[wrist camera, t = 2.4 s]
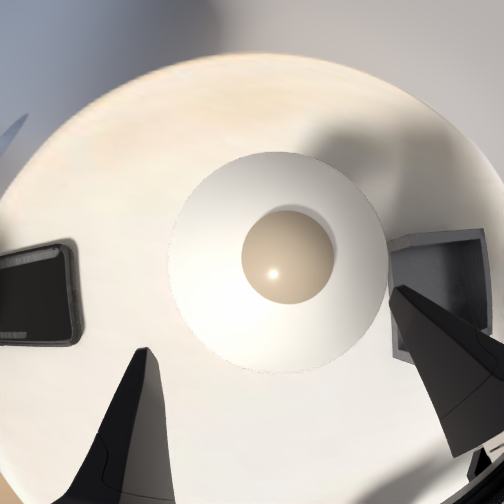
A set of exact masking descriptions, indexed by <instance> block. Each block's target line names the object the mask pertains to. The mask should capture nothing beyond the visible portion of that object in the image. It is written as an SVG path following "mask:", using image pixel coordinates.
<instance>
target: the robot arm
mask: <svg viewBox="0 0 504 504" xmlns="http://www.w3.org/2000/svg"><path fill="white" fill-rule="evenodd" d="M389 307H390V310H391V312H392V314H393V317H394V319H395V322H396V324H397V327H398V330H399V332H400V335H401V337H402V339H403V341H404V344H405V346H406V348H407V350H408V352H409V354H410V356H411V358H412V360H413V362H414V364H415V366H416V368H417V370H418V372H419V374H420V377H421V379H422V381H423V383H424V385H425V388H426V390H427V392H428V394H429V397H430V399H431V401H432V404H433V406H434V408H435V411H436V413H437V416H438V418H439V421H440V423H441V426H442V429H443V431H444V434H445V436H446V439H447V442H448V444H449V447H450V450H451V453H452V456H453V458H455V457H457V456H460V455H462V454H464V453H466V452H468V451H470V450H472V449H474V448H476V447H478V446H479V445H481V444H482V446H481V447H479V448H478V449H477V450H476V451H475V452H474V453H473V457H472V460H471V464H470V467H469V470H468V473H467V478H468V480H469V483H468V484H467V485H466V486H464V487H463V488H462V489H460V490H459V491H458V492H456V493H455V494H454V495H452V496H451V497H449V498H448V499H447V500H445V501H444V502H442V503H441V504H504V344H502V343H501V342H499V341H497V340H495V339H493V338H492V337H490V336H488V335H487V334H485V333H483V332H482V331H480V330H478V329H477V328H475V327H474V326H472V325H471V324H469V323H467V322H466V321H464V320H463V319H461V318H459V317H458V316H456V315H455V314H453V313H451V312H450V311H448V310H446V309H445V308H443V307H441V306H440V305H438V304H436V303H435V302H433V301H431V300H430V299H428V298H426V297H425V296H423V295H421V294H420V293H418V292H416V291H415V290H413V289H411V288H409V287H408V286H406V285H404V284H401V285H398V286H395V287H394V288H393V290H392V293H391V296H390V299H389ZM51 504H176V503H175V497H174V490H173V483H172V476H171V468H170V460H169V450H168V440H167V428H166V415H165V402H164V396H163V390H162V384H161V378H160V371H159V364H158V361H157V359H156V357H155V356H154V354H153V353H152V351H151V350H150V349H149V348H148V347H144V348H138V349H137V350H136V351H135V353H134V355H133V357H132V359H131V361H130V363H129V365H128V367H127V369H126V371H125V373H124V376H123V378H122V380H121V382H120V384H119V386H118V388H117V390H116V392H115V394H114V397H113V399H112V401H111V403H110V405H109V407H108V410H107V412H106V414H105V416H104V418H103V421H102V423H101V425H100V427H99V430H98V433H97V434H96V436H95V439H94V441H93V443H92V445H91V448H90V450H89V452H88V454H87V456H86V458H85V460H84V462H83V464H82V465H81V467H80V469H79V471H78V473H77V474H76V476H75V478H74V480H73V482H72V484H71V486H70V487H69V489H68V490H67V491H66V493H65V494H64V495H63V496H62V497H60V498H59V499H57V500H56V501H54V502H53V503H51Z"/></svg>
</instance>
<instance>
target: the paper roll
mask: <svg viewBox="0 0 504 504" xmlns="http://www.w3.org/2000/svg"><path fill="white" fill-rule="evenodd" d="M168 268H169V278H170V283H171V289H172V292H173V295H174V298H175V301H176V304H177V306H178V308H179V310H180V312H181V314H182V316H183V318H184V320H185V321H186V323H187V324H188V326H189V327H190V329H191V330H192V332H193V333H194V334H195V335H196V336H197V337H198V338H199V339H200V340H201V341H202V343H203V344H204V345H206V346H207V347H208V348H209V349H211V350H212V351H213V352H214V353H215V354H217V355H218V356H220V357H222V358H223V359H225V360H227V361H228V362H230V363H233V364H235V365H237V366H240V367H242V368H244V369H248V370H252V371H255V372H260V373H267V374H293V373H300V372H305V371H308V370H312V369H315V368H318V367H321V366H323V365H325V364H327V363H329V362H331V361H333V360H335V359H336V358H338V357H339V356H341V355H343V354H344V353H345V352H346V351H348V350H349V349H350V348H351V347H352V346H354V345H355V344H356V343H357V342H358V340H359V339H360V338H361V337H362V336H363V335H364V334H365V332H366V331H367V330H368V328H369V327H370V325H371V324H372V322H373V321H374V319H375V317H376V315H377V313H378V311H379V309H380V306H381V303H382V301H383V298H384V294H385V290H386V286H387V279H388V251H387V244H386V240H385V236H384V232H383V229H382V226H381V224H380V221H379V219H378V216H377V214H376V213H375V211H374V209H373V207H372V205H371V204H370V202H369V201H368V199H367V198H366V197H365V195H364V194H363V193H362V192H361V190H360V189H359V188H358V187H357V186H356V185H355V184H354V183H353V182H352V181H351V180H349V179H348V178H347V177H346V176H345V175H344V174H342V173H341V172H339V171H338V170H336V169H335V168H333V167H331V166H330V165H328V164H326V163H324V162H322V161H319V160H317V159H314V158H311V157H308V156H305V155H300V154H296V153H288V152H264V153H258V154H252V155H249V156H245V157H242V158H239V159H236V160H234V161H232V162H229V163H227V164H225V165H224V166H222V167H220V168H219V169H217V170H215V171H214V172H213V173H212V174H210V175H209V176H208V177H207V178H205V179H204V180H203V181H202V182H201V183H200V184H199V185H198V186H197V187H196V188H195V189H194V190H193V192H192V193H191V195H190V196H189V197H188V199H187V200H186V201H185V203H184V205H183V207H182V209H181V210H180V212H179V214H178V216H177V219H176V222H175V224H174V227H173V230H172V234H171V239H170V243H169V254H168Z"/></svg>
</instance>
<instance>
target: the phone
mask: <svg viewBox="0 0 504 504" xmlns="http://www.w3.org/2000/svg"><path fill="white" fill-rule="evenodd" d="M73 291H74V294H73ZM74 297H75V303H74ZM78 322H79V323H78ZM80 337H81V327H80V320H79V313H78V305H77V296H76V286H75V274H74V258H73V253H72V251H71V249H70V248H69V247H67V246H65V245H62V244H54V245H49V246H44V247H39V248H35V249H30V250H25V251H21V252H16V253H12V254H8V255H3V256H0V346H4V345H7V346H32V347H69V346H72V345H75V344H77V343H78V342H79V340H80Z"/></svg>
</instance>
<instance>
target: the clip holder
mask: <svg viewBox="0 0 504 504" xmlns="http://www.w3.org/2000/svg"><path fill="white" fill-rule="evenodd" d="M386 244H387V251H388V286H389V296H391V293H392V290H393V288H394V287H395V286H398V285H401V284H404V285H406V286H408V287H409V288H411V289H413V290H415V291H416V292H418V293H420V294H421V295H423V296H425V297H426V298H428V299H430V300H431V301H433V302H435V303H436V304H438V305H440V306H441V307H443V308H445V309H446V310H448V311H450V312H451V313H453V314H455V315H456V316H458V317H459V318H461V319H463V320H464V321H466V322H467V323H469V324H471V325H472V326H474V327H475V328H477V329H478V330H480V331H482V332H483V333H485V334H487V335H488V336H490V335H492V293H491V280H490V270H489V261H488V253H487V247H486V240H485V234H484V229H483V228H481V229H468V230H456V231H443V232H431V233H418V234H408V235H405V236H403V237H400V238H397V239H394V240H392V241H389V242H386ZM391 322H392V343H393V358H396V359H399V360H402V361H404V362H407V363H410V364H413V365H415V364H414V362H413V360H412V358H411V356H410V354H409V352H408V350H407V348H406V346H405V344H404V341H403V339H402V337H401V335H400V332H399V330H398V327H397V324H396V322H395V319H394V317H393V314H392V312H391Z"/></svg>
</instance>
